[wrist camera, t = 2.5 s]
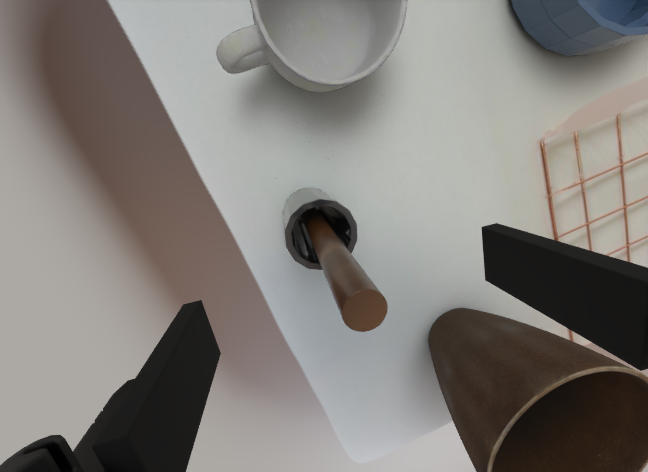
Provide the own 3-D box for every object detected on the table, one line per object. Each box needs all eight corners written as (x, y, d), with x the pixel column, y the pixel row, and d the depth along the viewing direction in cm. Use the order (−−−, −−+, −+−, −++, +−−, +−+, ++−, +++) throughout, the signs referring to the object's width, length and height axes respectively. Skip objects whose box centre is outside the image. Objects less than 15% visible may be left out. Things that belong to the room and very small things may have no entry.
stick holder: (271, 213, 30) (269, 235, 22) (311, 175, 30) (324, 183, 21) (307, 249, 32) (319, 283, 23) (345, 214, 32) (371, 235, 23)
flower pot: (497, 258, 36) (662, 333, 21) (520, 354, 40) (671, 476, 25) (383, 310, 35) (466, 427, 20) (419, 402, 40) (510, 556, 24)
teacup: (358, -48, 26) (392, -134, 18) (385, 85, 29) (424, 59, 21) (200, -7, 25) (166, -80, 17) (246, 126, 28) (234, 114, 20)
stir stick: (297, 214, 30) (332, 312, 11) (310, 202, 30) (367, 280, 11) (309, 227, 31) (362, 340, 12) (322, 215, 31) (396, 310, 12)
